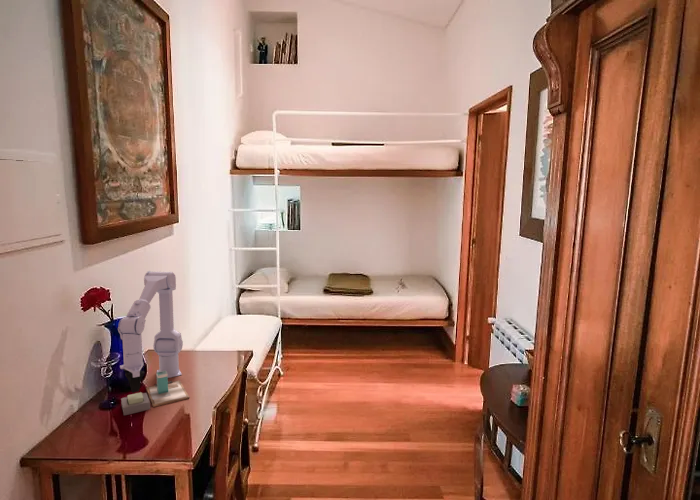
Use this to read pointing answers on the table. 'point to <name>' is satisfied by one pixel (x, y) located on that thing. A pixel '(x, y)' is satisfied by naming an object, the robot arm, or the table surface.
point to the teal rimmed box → (162, 382)
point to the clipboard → (167, 394)
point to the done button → (135, 398)
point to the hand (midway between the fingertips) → (134, 389)
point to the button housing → (135, 405)
